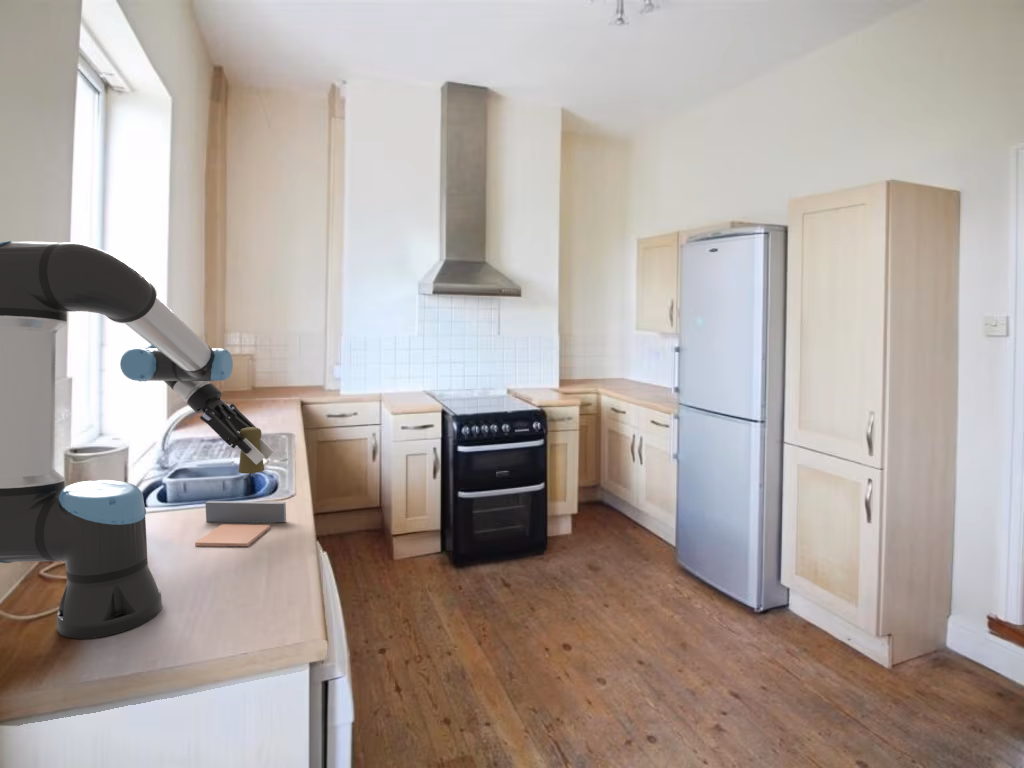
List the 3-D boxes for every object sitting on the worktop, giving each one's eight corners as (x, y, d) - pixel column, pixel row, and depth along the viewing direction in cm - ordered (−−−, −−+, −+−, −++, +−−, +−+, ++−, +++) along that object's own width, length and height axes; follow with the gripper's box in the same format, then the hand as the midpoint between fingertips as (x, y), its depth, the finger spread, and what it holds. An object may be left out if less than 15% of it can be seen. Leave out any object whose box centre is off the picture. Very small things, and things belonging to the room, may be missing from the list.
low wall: (284, 522, 151) (283, 503, 151) (206, 521, 152) (205, 502, 151) (286, 521, 152) (285, 502, 152) (208, 520, 153) (207, 501, 152)
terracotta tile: (247, 546, 135) (247, 543, 135) (195, 545, 136) (195, 542, 136) (269, 528, 147) (269, 525, 147) (221, 527, 148) (221, 524, 147)
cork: (269, 468, 153) (267, 425, 152) (256, 473, 147) (255, 430, 146) (246, 467, 154) (245, 425, 153) (233, 473, 148) (231, 429, 147)
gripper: (207, 398, 158) (270, 460, 159) (166, 407, 140) (238, 477, 141) (227, 378, 158) (290, 441, 159) (188, 385, 140) (259, 455, 141)
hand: (265, 457), depth 150 cm, fingers closed on cork, 5 cm apart
